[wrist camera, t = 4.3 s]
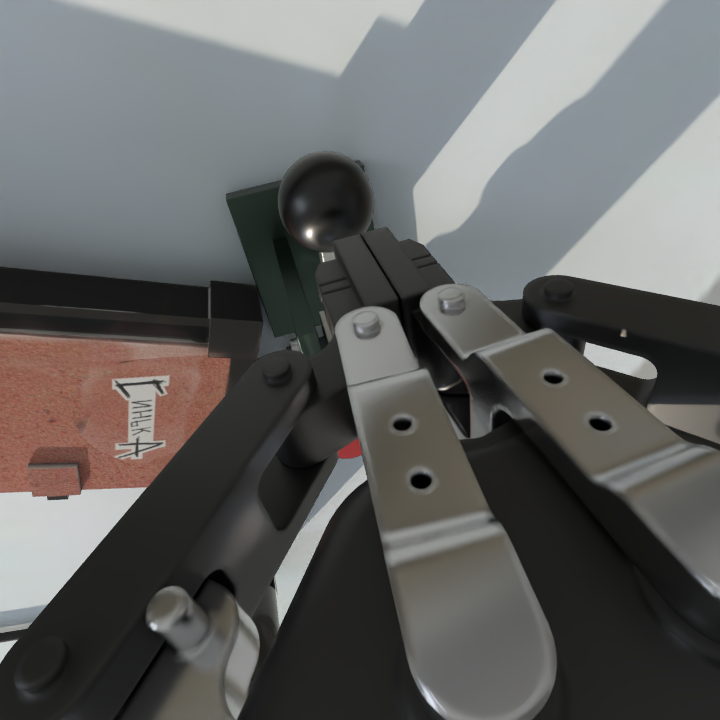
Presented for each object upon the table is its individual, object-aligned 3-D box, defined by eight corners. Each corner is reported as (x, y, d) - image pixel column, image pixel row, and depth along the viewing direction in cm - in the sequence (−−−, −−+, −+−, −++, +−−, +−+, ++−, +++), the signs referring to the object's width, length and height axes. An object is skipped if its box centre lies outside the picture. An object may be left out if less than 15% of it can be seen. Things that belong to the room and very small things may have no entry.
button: (329, 449, 42) (333, 464, 41) (320, 419, 39) (324, 434, 38) (372, 436, 42) (377, 450, 41) (365, 405, 40) (371, 419, 38)
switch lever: (258, 142, 16) (281, 217, 14) (356, 118, 16) (387, 189, 15) (311, 332, 27) (327, 383, 26) (367, 316, 28) (385, 366, 26)
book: (-126, 455, 35) (-167, 511, 31) (-230, 235, 26) (-307, 277, 22) (234, 450, 44) (236, 493, 40) (257, 285, 35) (263, 321, 31)
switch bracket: (225, 193, 30) (233, 289, 20) (359, 159, 31) (428, 236, 21) (273, 329, 37) (296, 449, 27) (381, 299, 38) (441, 405, 28)
